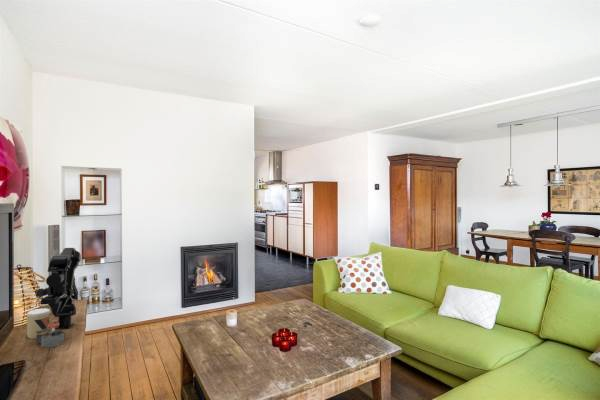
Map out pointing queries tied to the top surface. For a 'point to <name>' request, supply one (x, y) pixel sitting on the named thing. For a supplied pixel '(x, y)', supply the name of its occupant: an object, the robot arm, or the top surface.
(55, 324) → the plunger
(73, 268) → the robot arm
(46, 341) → the grey open tray
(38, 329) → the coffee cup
